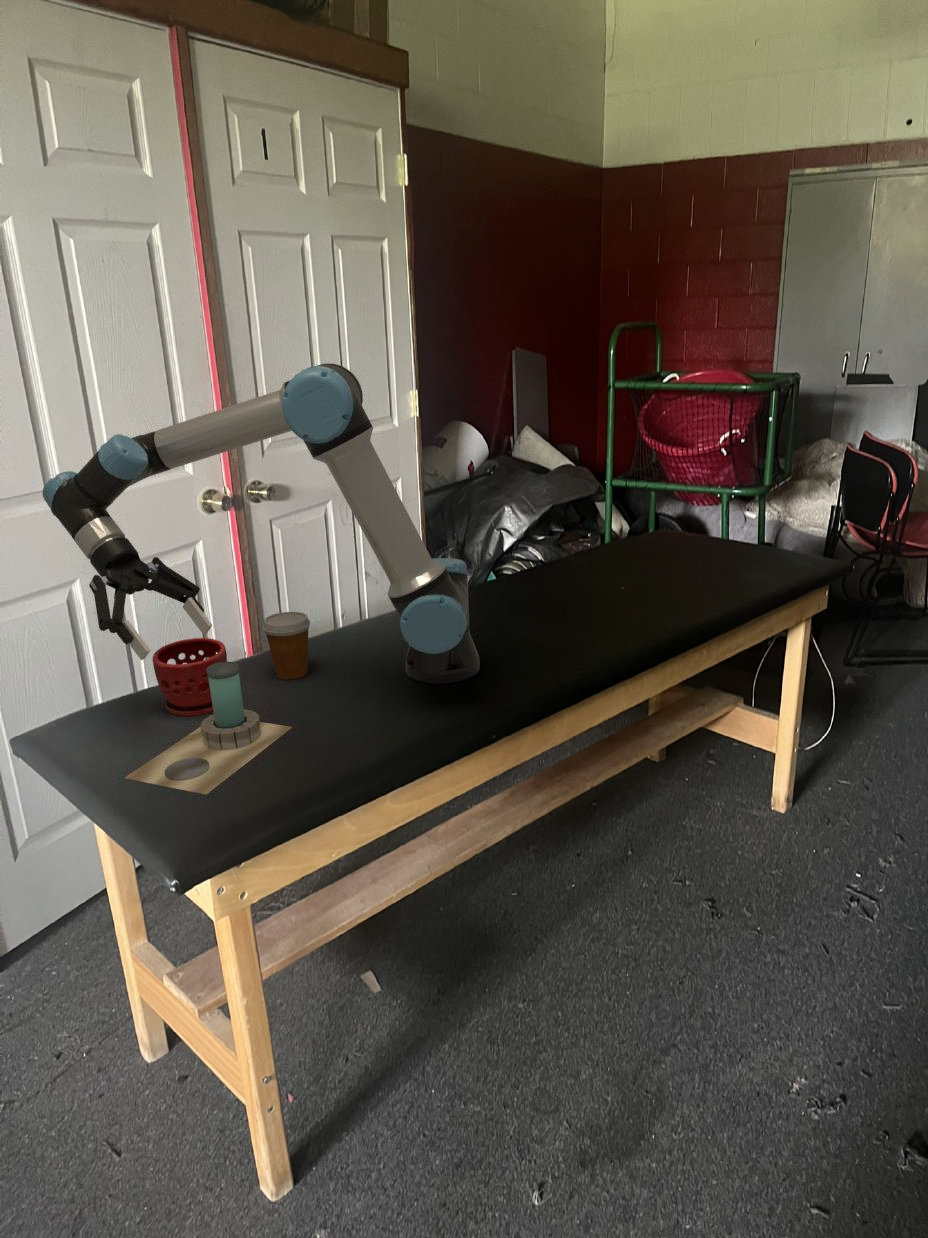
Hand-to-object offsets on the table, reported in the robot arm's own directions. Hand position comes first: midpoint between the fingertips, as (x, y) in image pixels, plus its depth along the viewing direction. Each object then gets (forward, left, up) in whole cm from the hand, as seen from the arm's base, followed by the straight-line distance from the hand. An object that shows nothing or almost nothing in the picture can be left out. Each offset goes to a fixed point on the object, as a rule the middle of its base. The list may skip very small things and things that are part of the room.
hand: (178, 642), depth 153 cm
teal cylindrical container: (-10, +2, -16) cm, 19 cm away
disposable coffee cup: (-3, -28, -17) cm, 33 cm away
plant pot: (+5, -8, -17) cm, 19 cm away
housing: (-10, +7, -17) cm, 21 cm away
